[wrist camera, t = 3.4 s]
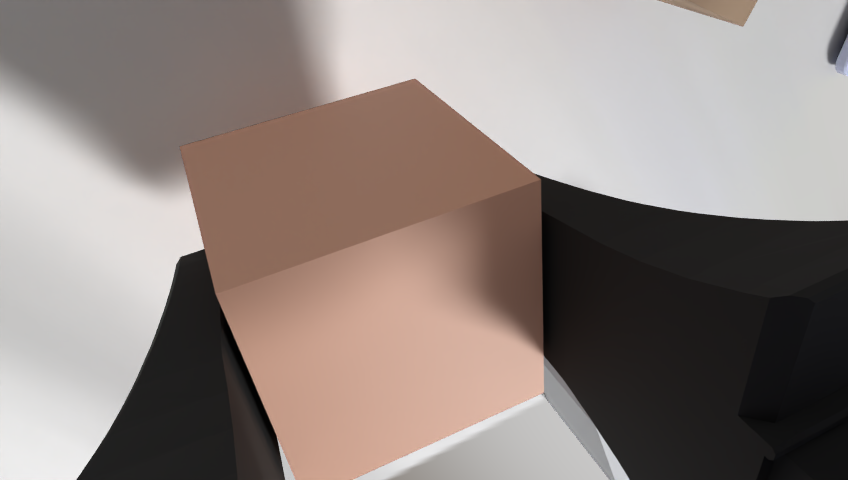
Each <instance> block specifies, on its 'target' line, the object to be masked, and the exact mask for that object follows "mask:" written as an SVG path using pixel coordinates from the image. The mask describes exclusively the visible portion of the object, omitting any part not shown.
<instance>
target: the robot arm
mask: <svg viewBox="0 0 848 480" xmlns="http://www.w3.org/2000/svg"><path fill="white" fill-rule="evenodd" d="M836 71H837V72H838V73H840V74H843V75H846V76H848V35H847V38H846V40H845V42H844V44H843V47H842V49H841V51H840V53H839V56H838V58H837V61H836ZM535 175H536V176H537V177H539V178H540V179H541V218H542V285H543V353H544V357H545V358H546V359H547V360H548V361H549V363H550V364H551V365H552V366H553V367H554V369H555V370H556V371H557V373H558V374H559V375H560V376H561V378H562V379H563V380H564V381H565V383H566V384H567V386H568V387H569V389H570V390H571V391H572V393H573V394H574V396H575V397H576V399H577V400H578V402H579V403H580V405H581V406H582V407H583V409H584V410H585V412H586V413H587V415H588V416H589V418H590V419H591V420H592V422H593V424H594V425H595V427H596V428H597V430H598V431H599V433H600V434H601V436H602V437H603V439H604V440H605V442H606V443H607V445H608V446H609V448H610V450H611V451H612V453H613V454H614V456H615V457H616V459H617V460H618V462H619V463H620V465H621V467H622V468H623V470H624V471H625V473H626V475H627V476H628V478H629V480H848V221H788V220H763V219H748V218H735V217H726V216H716V215H707V214H698V213H691V212H684V211H677V210H672V209H666V208H661V207H655V206H650V205H644V204H639V203H635V202H630V201H626V200H622V199H618V198H614V197H610V196H606V195H602V194H599V193H595V192H591V191H588V190H584V189H581V188H577V187H574V186H571V185H568V184H564V183H561V182H558V181H555V180H552V179H549V178H546V177H543V176H540V175H537V174H535ZM77 480H285V477H284V472H283V467H282V461H281V456H280V451H279V446H278V441H277V435H276V433H275V431H274V428H273V426H272V424H271V421H270V419H269V417H268V414H267V412H266V410H265V407H264V405H263V403H262V400H261V398H260V396H259V393H258V391H257V389H256V387H255V384H254V382H253V380H252V377H251V375H250V373H249V370H248V368H247V366H246V363H245V361H244V359H243V356H242V354H241V352H240V349H239V347H238V345H237V342H236V340H235V338H234V336H233V333H232V331H231V329H230V326H229V324H228V322H227V319H226V317H225V315H224V312H223V310H222V308H221V305H220V303H219V301H218V298H217V296H216V294H215V289H214V285H213V281H212V277H211V273H210V269H209V265H208V261H207V257H206V253H205V249H203V250H200V251H197V252H194V253H191V254H188V255H185V256H182V257H181V258H180V259H179V261H178V263H177V264H176V269H175V274H174V278H173V282H172V286H171V289H170V293H169V296H168V299H167V302H166V306H165V309H164V312H163V315H162V317H161V320H160V323H159V326H158V329H157V331H156V334H155V337H154V339H153V342H152V345H151V347H150V349H149V352H148V354H147V356H146V358H145V361H144V363H143V365H142V367H141V370H140V372H139V374H138V377H137V379H136V381H135V383H134V385H133V387H132V389H131V391H130V393H129V395H128V397H127V399H126V401H125V403H124V405H123V406H122V408H121V410H120V412H119V414H118V416H117V417H116V419H115V421H114V423H113V424H112V426H111V428H110V430H109V431H108V433H107V435H106V436H105V438H104V439H103V441H102V443H101V444H100V446H99V447H98V449H97V450H96V452H95V453H94V455H93V456H92V458H91V459H90V461H89V462H88V464H87V465H86V467H85V468H84V470H83V471H82V473H81V474H80V475H79V477H78V478H77Z"/></svg>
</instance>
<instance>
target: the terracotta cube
mask: <svg viewBox="0 0 848 480" xmlns="http://www.w3.org/2000/svg"><path fill="white" fill-rule="evenodd" d="M180 150H181V154H182V158H183V162H184V166H185V171H186V175H187V179H188V183H189V187H190V191H191V195H192V199H193V203H194V207H195V212H196V216H197V220H198V224H199V228H200V232H201V236H202V240H203V244H204V248H205V253H206V257H207V261H208V265H209V269H210V273H211V277H212V281H213V285H214V289H215V294H216V296H217V298H218V301H219V303H220V305H221V308H222V310H223V312H224V315H225V317H226V319H227V322H228V324H229V326H230V329H231V331H232V333H233V336H234V338H235V340H236V342H237V345H238V347H239V349H240V352H241V354H242V356H243V359H244V361H245V363H246V366H247V368H248V370H249V373H250V375H251V377H252V380H253V382H254V384H255V387H256V389H257V391H258V393H259V396H260V398H261V400H262V403H263V405H264V407H265V410H266V412H267V414H268V417H269V419H270V421H271V424H272V426H273V428H274V431H275V433H276V435H277V438H278V440H279V442H280V444H281V447H282V449H283V451H284V454H285V456H286V458H287V461H288V463H289V465H290V468H291V470H292V472H293V475H294V477H295V479H296V480H353V479H355V478H357V477H359V476H362V475H364V474H366V473H368V472H370V471H373V470H375V469H377V468H379V467H381V466H384V465H386V464H388V463H390V462H392V461H395V460H397V459H399V458H401V457H403V456H406V455H408V454H410V453H412V452H414V451H417V450H419V449H421V448H423V447H425V446H428V445H430V444H432V443H434V442H436V441H439V440H441V439H443V438H445V437H447V436H450V435H452V434H454V433H456V432H458V431H461V430H463V429H465V428H467V427H469V426H472V425H474V424H476V423H478V422H481V421H483V420H485V419H487V418H489V417H492V416H494V415H496V414H498V413H500V412H503V411H505V410H507V409H509V408H511V407H514V406H516V405H518V404H520V403H522V402H525V401H527V400H529V399H531V398H533V397H536V396H538V395H540V394H542V393H544V353H543V285H542V218H541V179H540V178H539V177H537V176H536V175H535V174H534V173H532V172H531V171H530V170H529V169H527V168H526V167H525V166H524V165H522V164H521V163H520V162H519V161H517V160H516V159H515V158H514V157H512V156H511V155H510V154H509V153H507V152H506V151H505V150H504V149H502V148H501V147H500V146H499V145H497V144H496V143H495V142H494V141H492V140H491V139H490V138H489V137H487V136H486V135H485V134H484V133H482V132H481V131H480V130H479V129H477V128H476V127H475V126H474V125H472V124H471V123H470V122H469V121H467V120H466V119H465V118H464V117H462V116H461V115H460V114H459V113H457V112H456V111H455V110H454V109H452V108H451V107H450V106H449V105H447V104H446V103H445V102H444V101H442V100H441V99H440V98H439V97H437V96H436V95H435V94H434V93H432V92H431V91H430V90H429V89H427V88H426V87H425V86H424V85H422V84H421V83H420V82H419V81H417V80H416V79H412V80H408V81H405V82H401V83H398V84H395V85H391V86H388V87H384V88H381V89H377V90H374V91H370V92H367V93H363V94H360V95H356V96H353V97H349V98H346V99H343V100H339V101H336V102H332V103H329V104H325V105H322V106H318V107H315V108H311V109H308V110H304V111H301V112H297V113H294V114H290V115H287V116H284V117H280V118H277V119H273V120H270V121H266V122H263V123H259V124H256V125H252V126H249V127H245V128H242V129H238V130H235V131H232V132H228V133H225V134H221V135H218V136H214V137H211V138H207V139H204V140H200V141H197V142H193V143H190V144H186V145H183V146H180Z"/></svg>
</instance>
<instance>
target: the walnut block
mask: <svg viewBox="0 0 848 480" xmlns="http://www.w3.org/2000/svg"><path fill="white" fill-rule="evenodd" d="M659 1H662V2H665V3H668V4H672V5H675V6H678V7H681V8H684V9H688V10H691V11H694V12H697V13H701V14H704V15H707V16H710V17H714V18H717V19H720V20H723V21H727V22H730V23H733V24H736V25H739V26H744V24H745V22H746V21H747V19H748V17H749V15H750V13H751V11H752V10H753V8H754V6H755V4H756V2H757V0H659Z"/></svg>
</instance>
